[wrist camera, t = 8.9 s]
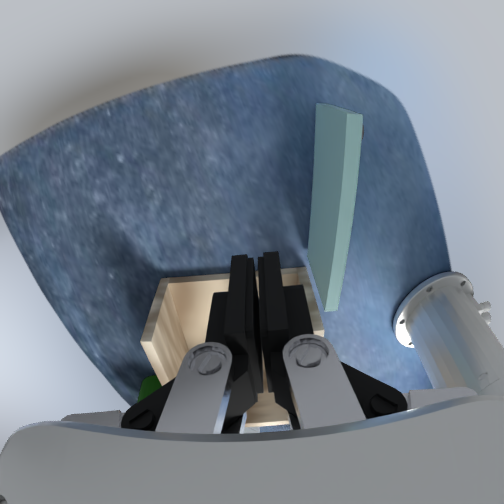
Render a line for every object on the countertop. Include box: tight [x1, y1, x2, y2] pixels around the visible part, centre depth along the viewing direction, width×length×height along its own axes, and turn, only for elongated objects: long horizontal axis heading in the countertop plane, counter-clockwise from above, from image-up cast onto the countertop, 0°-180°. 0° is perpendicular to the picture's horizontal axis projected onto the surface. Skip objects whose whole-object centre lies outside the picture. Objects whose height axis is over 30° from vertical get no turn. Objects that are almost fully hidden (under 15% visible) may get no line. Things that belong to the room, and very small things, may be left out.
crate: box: [140, 267, 324, 427], centre depth 32 cm, size 15×16×9 cm
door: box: [307, 103, 364, 312], centre depth 23 cm, size 14×2×8 cm, turn 1°
